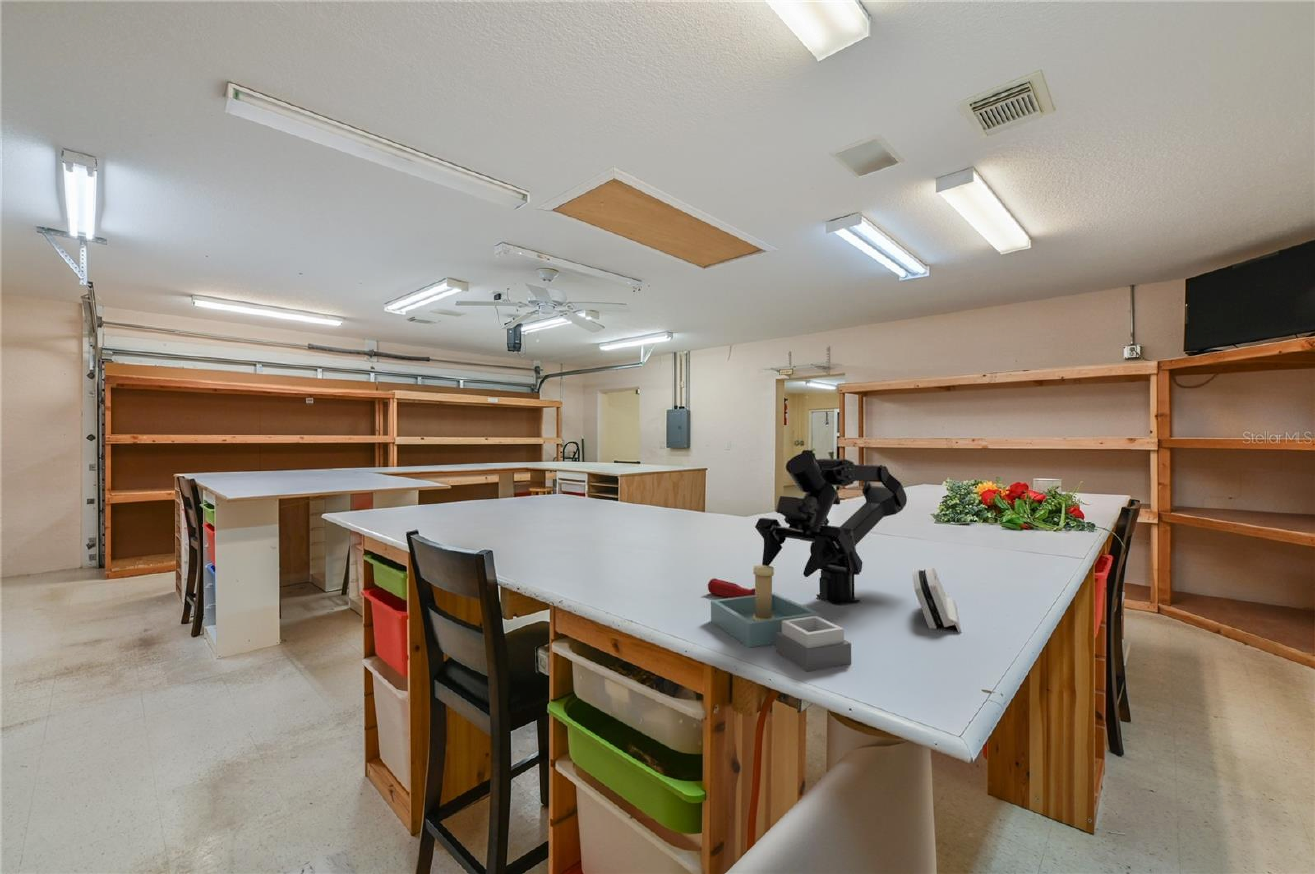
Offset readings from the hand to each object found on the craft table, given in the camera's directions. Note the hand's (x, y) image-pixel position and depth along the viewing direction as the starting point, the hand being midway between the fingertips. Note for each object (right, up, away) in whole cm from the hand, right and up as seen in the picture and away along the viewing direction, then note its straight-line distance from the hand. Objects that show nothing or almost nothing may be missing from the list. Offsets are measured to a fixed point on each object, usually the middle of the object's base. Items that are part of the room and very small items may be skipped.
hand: (783, 571), depth 98 cm
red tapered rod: (-3, -10, +9) cm, 14 cm away
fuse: (-5, -8, -4) cm, 10 cm away
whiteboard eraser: (+30, -9, +2) cm, 31 cm away
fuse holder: (0, -9, -18) cm, 20 cm away
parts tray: (-5, -9, -4) cm, 11 cm away
